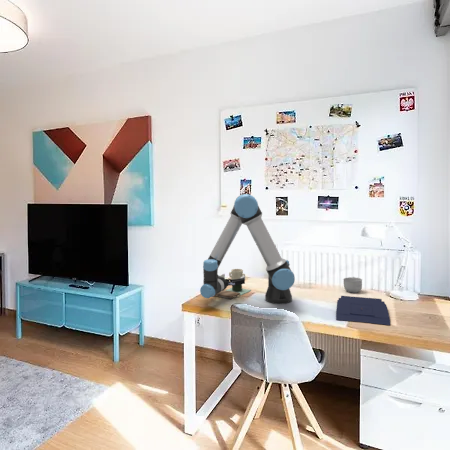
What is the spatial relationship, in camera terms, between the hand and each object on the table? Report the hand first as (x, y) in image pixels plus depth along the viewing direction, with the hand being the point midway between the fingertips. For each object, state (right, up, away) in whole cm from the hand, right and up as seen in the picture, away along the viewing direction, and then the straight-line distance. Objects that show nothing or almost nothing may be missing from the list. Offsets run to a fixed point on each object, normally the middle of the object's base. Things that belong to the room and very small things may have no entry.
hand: (234, 276), depth 222 cm
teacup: (+73, -9, +3) cm, 74 cm away
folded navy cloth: (+64, -13, -37) cm, 75 cm away
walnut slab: (-6, -10, -6) cm, 13 cm away
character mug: (+2, -9, +3) cm, 10 cm away
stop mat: (+2, -10, +4) cm, 10 cm away
